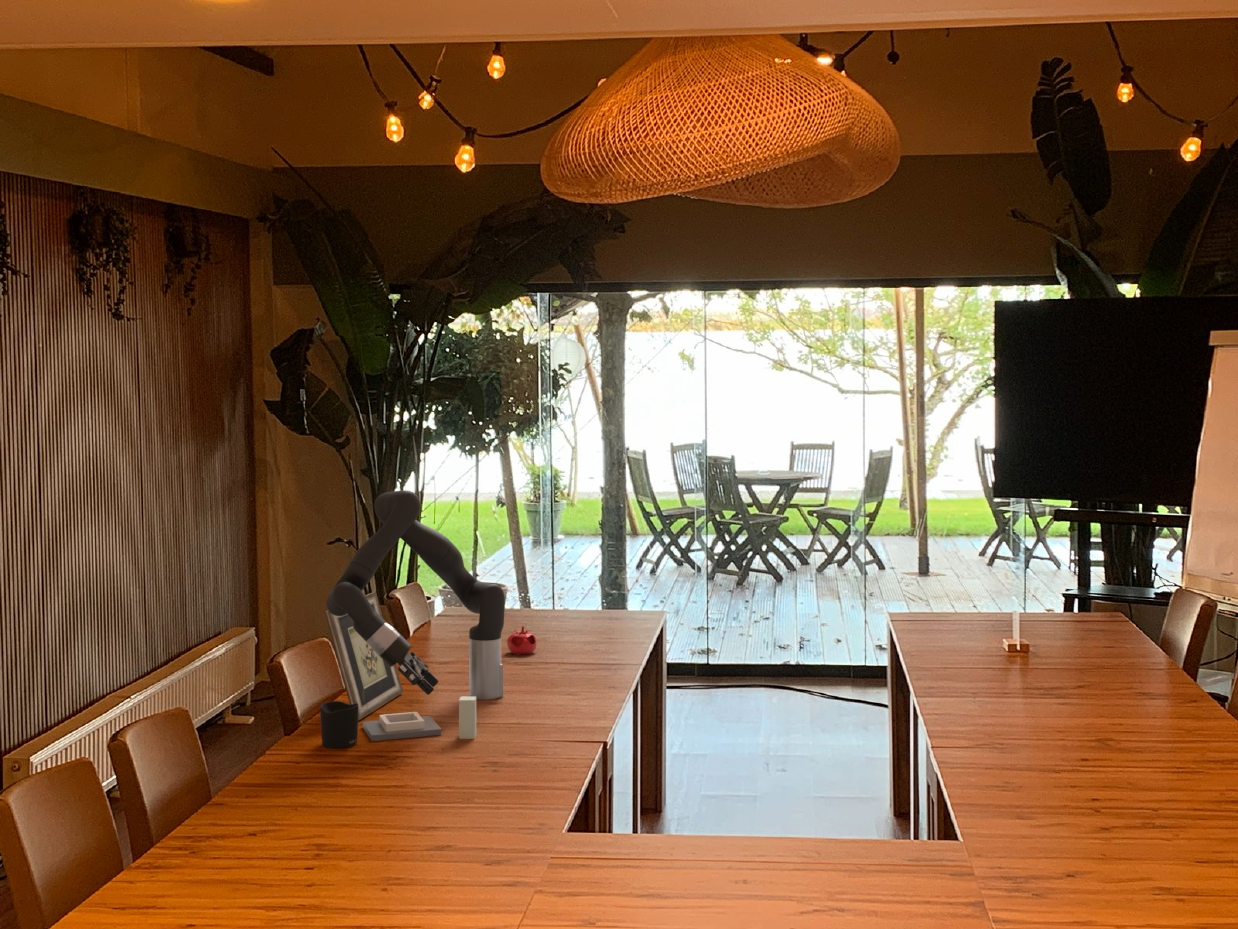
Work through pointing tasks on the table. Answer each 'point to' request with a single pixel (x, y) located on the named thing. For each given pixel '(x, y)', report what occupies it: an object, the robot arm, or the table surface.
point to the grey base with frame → (401, 726)
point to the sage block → (467, 717)
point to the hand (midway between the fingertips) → (433, 688)
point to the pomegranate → (521, 642)
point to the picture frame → (362, 664)
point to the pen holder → (339, 724)
